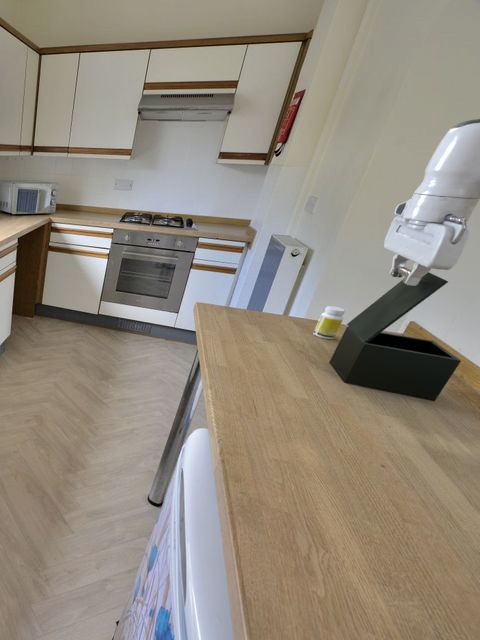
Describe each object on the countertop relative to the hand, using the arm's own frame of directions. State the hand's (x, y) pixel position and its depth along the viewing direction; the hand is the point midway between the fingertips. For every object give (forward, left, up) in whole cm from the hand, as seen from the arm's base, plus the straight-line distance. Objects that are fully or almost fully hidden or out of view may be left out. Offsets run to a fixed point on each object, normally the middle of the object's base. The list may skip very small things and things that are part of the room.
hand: (401, 280), depth 85 cm
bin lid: (-1, 0, -6) cm, 6 cm away
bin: (-5, 0, -23) cm, 24 cm away
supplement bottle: (-1, -25, -23) cm, 34 cm away
